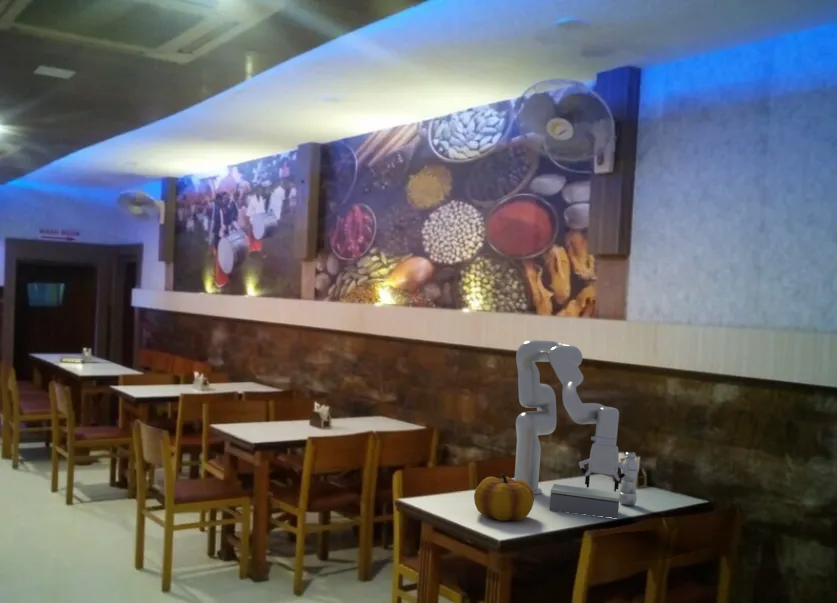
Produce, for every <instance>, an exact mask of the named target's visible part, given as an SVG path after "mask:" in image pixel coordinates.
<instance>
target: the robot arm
mask: <svg viewBox="0 0 837 603" xmlns="http://www.w3.org/2000/svg"><path fill="white" fill-rule="evenodd" d="M515 354H516V355H515V357H516V358H515V359H516V361H515V362H516V368H517V375H518V377H517V380H518V384H517V385H518V400H519V403H520V406H522V407H524V408H528V409H533V408H534V409H535V408H536V410H533V411H531V410H529V411H524V412H521V413H520V414H519V415H518V416H516V419H515V431H516V449H515V450H516V453H515V465H514V467H515V469H514V477H511V479H513V480H515V481H516V480H522V481H525V482H527V483H528V484H529V485H530V486H531V488H532V490H533V493H534V496H535V495H540V494H542V491H543V490H542V488H540V487H539V476H540V464H541V452H542V450H541V449H542V448H541V443H540V439H539V436H547V435H550V434H552V433H553V432H554V431H555V430H556V428H557V399H556V393H555V391H554V389H553V388H552V386H550V385H549V384H547V383H541V382H540V381H541V380H540V379H541V378H540V376H541V375H540V371H539V368H538V366H537V364H536V363H537V362H538V363H540V362H541V363H549V364H550V365H551V367H552V368H553V371H554V373H555V374H556V376H557V378H558V380H559V382H560V383H561V386H562V392H561V393H562V394H561V396H562V397H561V398H562V404H563V406H564V408H565V410H566V412H567V413H568V416H569V417H570V418H571V420H572V421H573V422H574V423H576V424H578V425H591V424H592V425H594V424H596V427H595V435H594V436H590V440H591V441H593V443H592V445H591V448H590V452H589V453H590V454H589V458H587V459H584V460H581V461H579V462H578V465H579V467H580V470H581V472H582V473H583V474H584V477H585V478H584V480H585V481H584V485H586V488H589V487H590V480H591V479H590V478H591V476H590V475H591V474H592V473H594V474H601V475H607V476H613V477H614V478H615V479H614V486H613V492H617V490H619V484H620V481H621V480H622V478H623V477H624V476H625V475H626V473H627V472H628V469H627V468H626V467H624V466H623V465H621V464H622V463H620V462H619V447H618V446H617V441H618V428H619V418H620V412H619V410H618V409H617V408H615V407H612V406H605V405H603V404H601V403H598V402H597V403H596V402H586V403H585V402H582V400H581V399H580V396H579V395H578V392H577V387H578V386H580V385H581V383H582V382H583V381H584V374H583V373H582V371H581V370H580V368H579V366H580V365H581V364H582V362H583V354H582V352H581V350H580V349H579V348H578V347H576V346H575V345H571V344H566V343H563V342H559V341H553V340H540V339H538V340H537V339H535V340H534V339H533V340H532V339H531V340H526V341H524V342H522V343H521V344H520V345H519V347H518V348H517V351H516V353H515ZM587 464H588V469H586V468H585V466H584V465H587ZM619 469H620V470H621V469H622V470H623V472H622V473H621V472H620V474H619V473H618V471H619Z"/></svg>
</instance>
